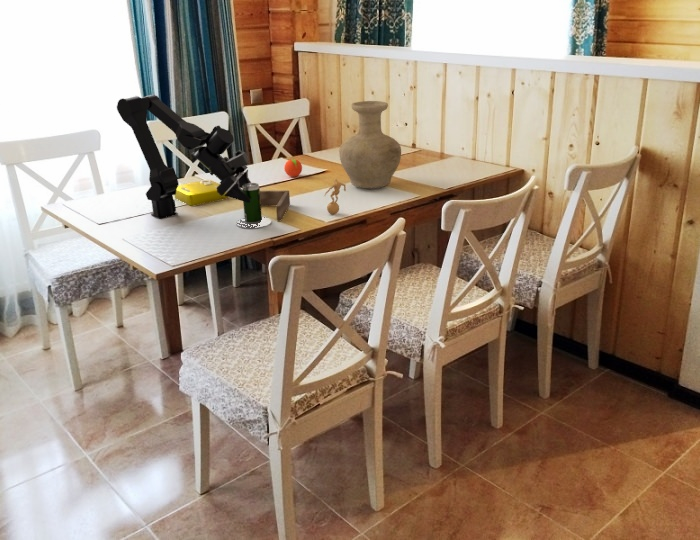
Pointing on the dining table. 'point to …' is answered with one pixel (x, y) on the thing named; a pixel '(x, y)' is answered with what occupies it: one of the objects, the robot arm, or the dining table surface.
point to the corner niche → (276, 201)
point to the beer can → (252, 203)
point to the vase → (370, 149)
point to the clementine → (293, 167)
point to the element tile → (199, 193)
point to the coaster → (247, 224)
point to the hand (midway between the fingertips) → (252, 197)
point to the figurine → (333, 206)
